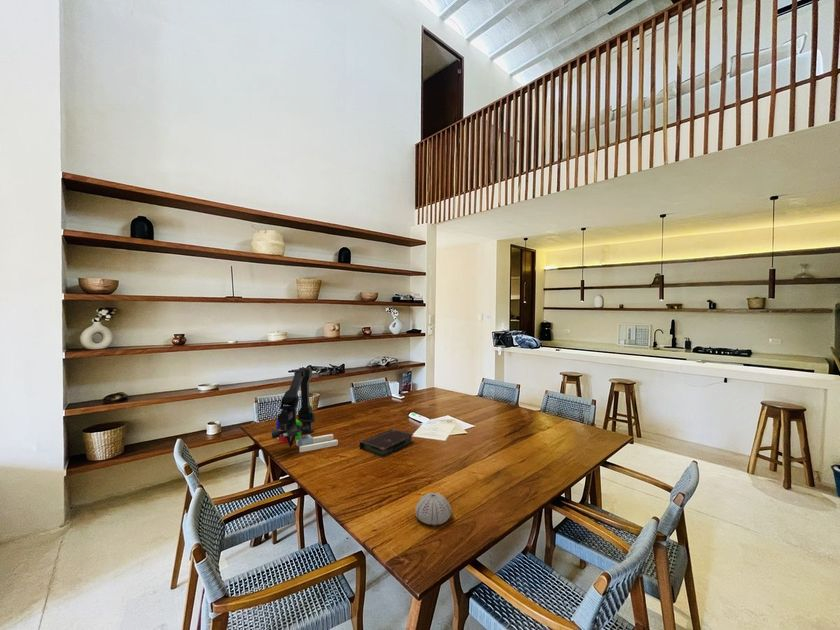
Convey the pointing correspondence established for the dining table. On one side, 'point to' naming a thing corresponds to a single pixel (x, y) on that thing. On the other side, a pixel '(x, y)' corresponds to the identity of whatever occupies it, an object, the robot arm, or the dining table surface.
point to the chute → (319, 445)
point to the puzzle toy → (282, 427)
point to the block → (305, 440)
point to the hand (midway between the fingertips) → (290, 447)
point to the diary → (387, 442)
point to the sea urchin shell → (433, 509)
